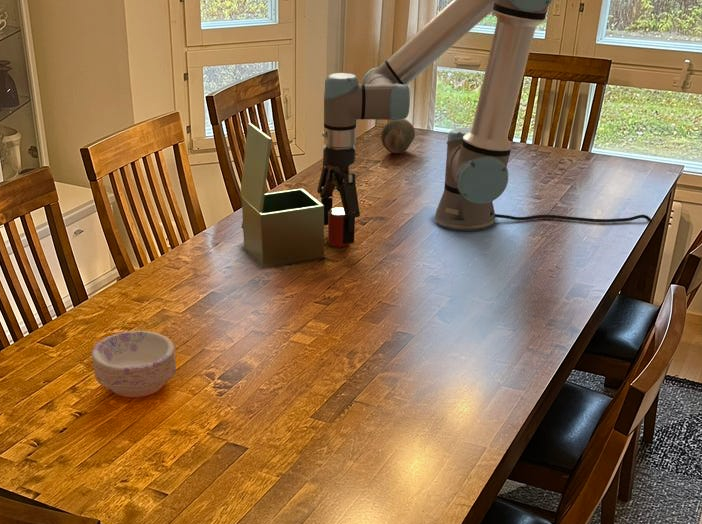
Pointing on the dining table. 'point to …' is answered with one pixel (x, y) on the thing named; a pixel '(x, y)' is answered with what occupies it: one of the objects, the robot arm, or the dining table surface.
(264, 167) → the bin lid
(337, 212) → the tin can
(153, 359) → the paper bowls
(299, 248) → the trash can
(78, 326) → the dining table surface
